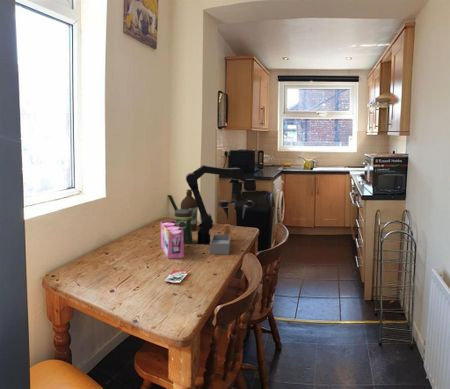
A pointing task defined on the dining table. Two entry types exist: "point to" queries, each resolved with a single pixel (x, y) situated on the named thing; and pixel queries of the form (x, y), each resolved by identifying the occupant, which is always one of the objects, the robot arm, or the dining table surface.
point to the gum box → (172, 239)
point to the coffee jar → (184, 223)
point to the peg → (227, 230)
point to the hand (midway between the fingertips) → (235, 218)
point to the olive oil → (190, 208)
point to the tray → (220, 244)
